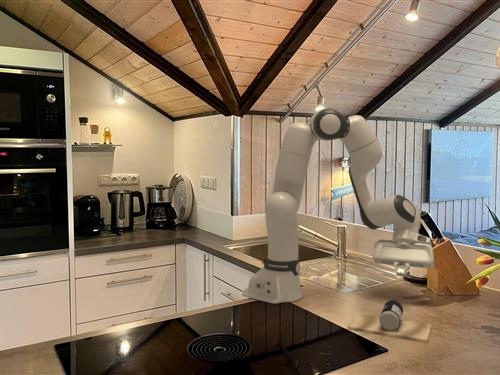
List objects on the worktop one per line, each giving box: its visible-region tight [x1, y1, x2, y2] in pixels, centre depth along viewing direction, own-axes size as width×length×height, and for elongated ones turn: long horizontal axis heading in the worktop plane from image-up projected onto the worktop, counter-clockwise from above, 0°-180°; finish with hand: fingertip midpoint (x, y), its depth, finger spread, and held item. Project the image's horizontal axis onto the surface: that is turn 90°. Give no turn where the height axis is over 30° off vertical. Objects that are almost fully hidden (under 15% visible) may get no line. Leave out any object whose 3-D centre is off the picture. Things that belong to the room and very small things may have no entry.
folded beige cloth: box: [347, 312, 432, 344], centre depth 128 cm, size 22×12×1 cm, turn 63°
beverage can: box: [378, 299, 404, 330], centre depth 129 cm, size 6×6×12 cm
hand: (400, 275), depth 146 cm, fingers closed
